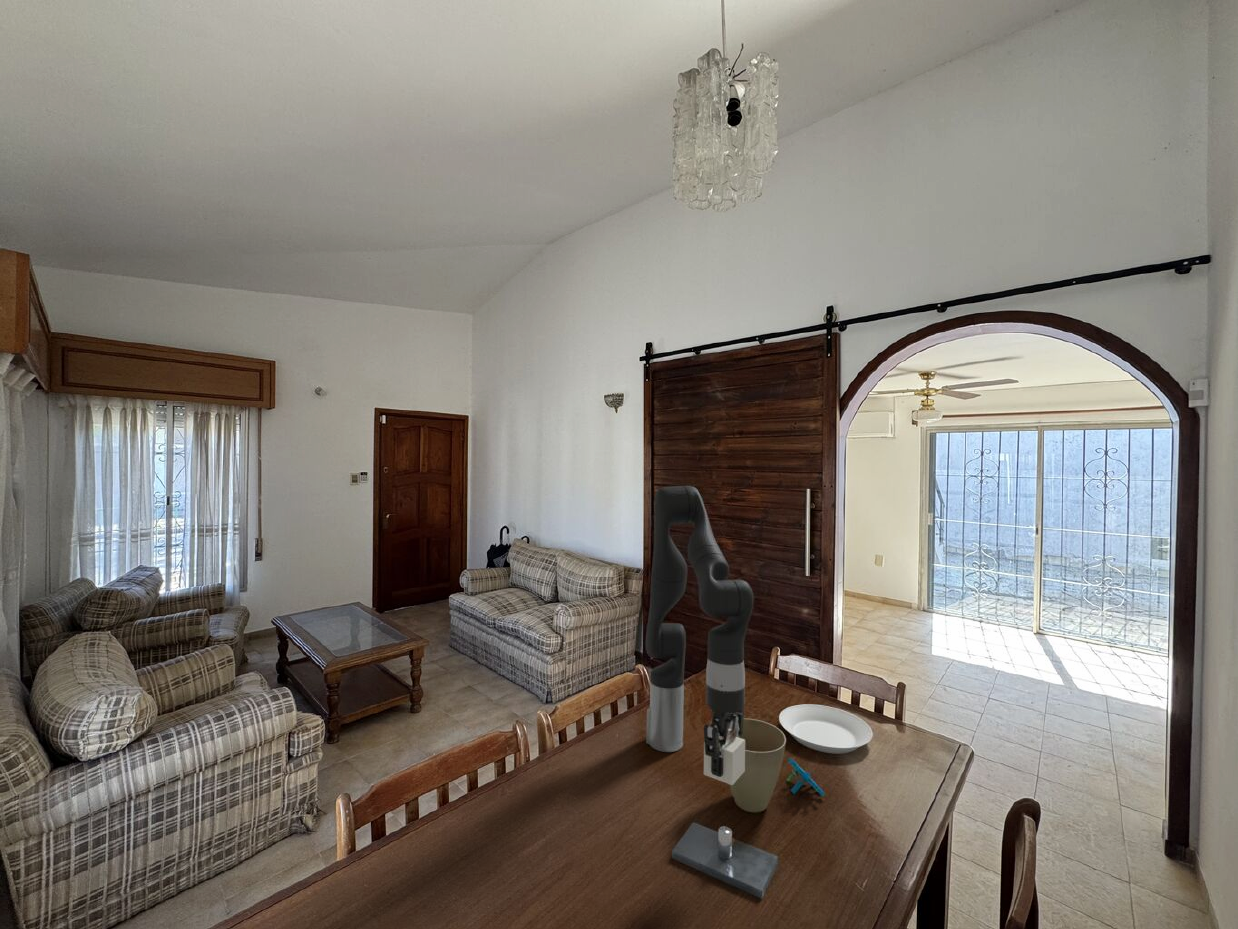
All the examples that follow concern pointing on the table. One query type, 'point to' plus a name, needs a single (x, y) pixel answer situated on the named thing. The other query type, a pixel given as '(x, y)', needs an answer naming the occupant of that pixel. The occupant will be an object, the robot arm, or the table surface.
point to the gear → (801, 778)
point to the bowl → (825, 728)
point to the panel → (726, 858)
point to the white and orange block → (729, 760)
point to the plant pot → (759, 765)
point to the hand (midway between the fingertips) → (724, 767)
